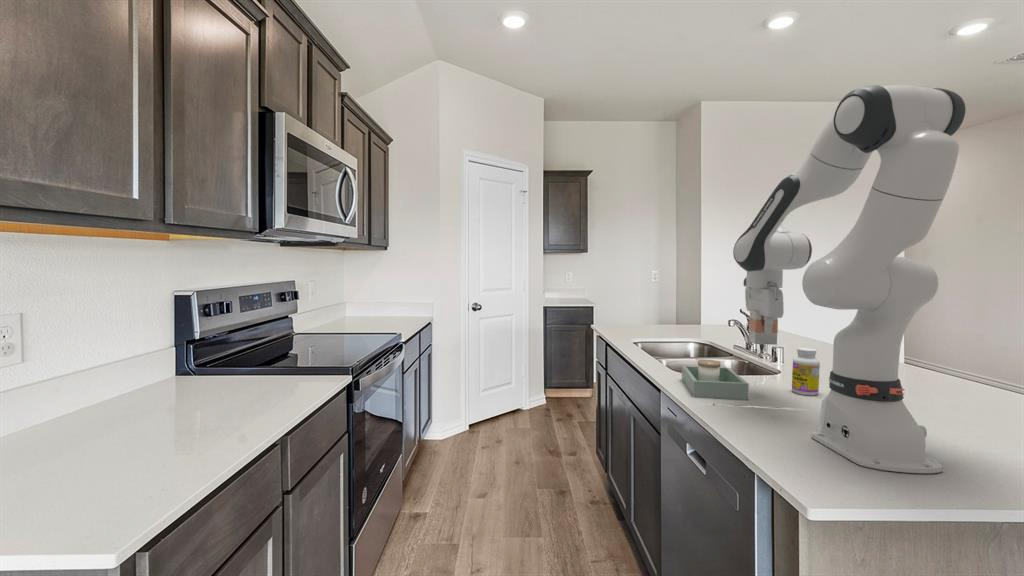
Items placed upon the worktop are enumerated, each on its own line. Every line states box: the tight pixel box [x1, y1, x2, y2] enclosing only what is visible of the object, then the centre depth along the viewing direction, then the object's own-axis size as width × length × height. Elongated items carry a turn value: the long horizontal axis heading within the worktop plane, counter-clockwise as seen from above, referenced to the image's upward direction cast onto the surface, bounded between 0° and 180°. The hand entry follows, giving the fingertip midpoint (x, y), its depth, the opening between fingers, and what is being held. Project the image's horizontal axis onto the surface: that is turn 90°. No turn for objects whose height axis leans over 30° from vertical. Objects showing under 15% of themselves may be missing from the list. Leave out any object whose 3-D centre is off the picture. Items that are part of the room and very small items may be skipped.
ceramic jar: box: [697, 359, 722, 382], centre depth 144 cm, size 6×6×7 cm
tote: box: [681, 365, 749, 401], centre depth 139 cm, size 20×14×5 cm
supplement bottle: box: [791, 347, 821, 396], centre depth 137 cm, size 7×7×13 cm
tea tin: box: [748, 310, 779, 346], centre depth 132 cm, size 6×6×9 cm
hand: (763, 330), depth 132 cm, fingers closed on tea tin, 6 cm apart
